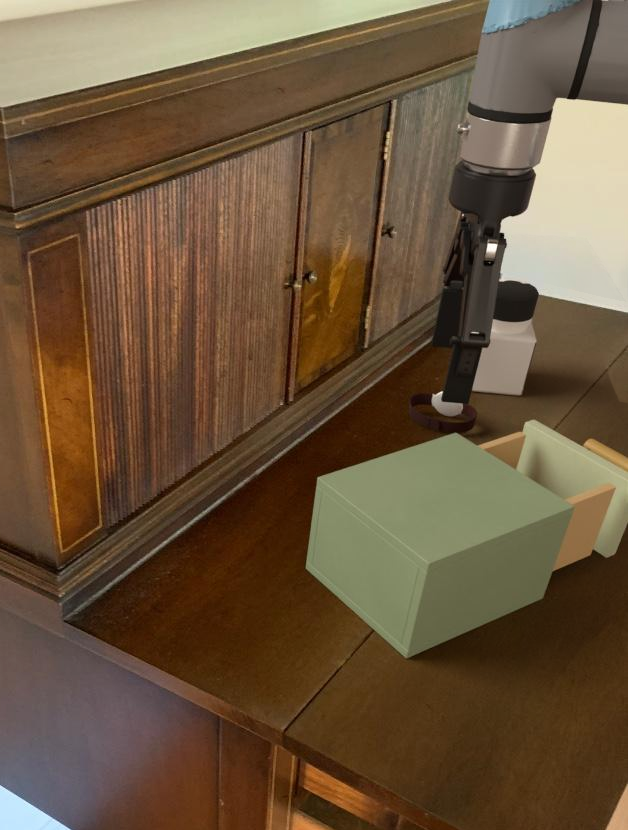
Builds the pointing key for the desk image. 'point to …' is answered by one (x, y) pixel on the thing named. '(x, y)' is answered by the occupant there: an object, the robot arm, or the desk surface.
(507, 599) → the cabinet
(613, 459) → the drawer
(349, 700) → the desk surface
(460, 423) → the watch
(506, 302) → the medicine bottle
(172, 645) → the desk surface
